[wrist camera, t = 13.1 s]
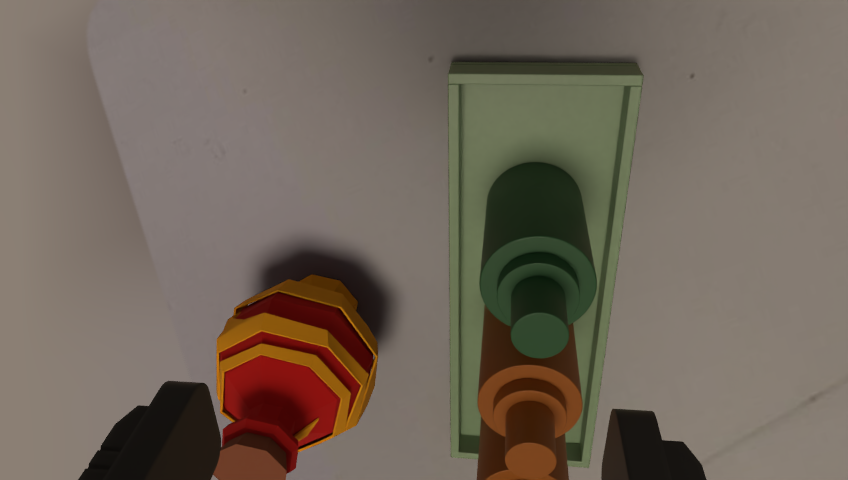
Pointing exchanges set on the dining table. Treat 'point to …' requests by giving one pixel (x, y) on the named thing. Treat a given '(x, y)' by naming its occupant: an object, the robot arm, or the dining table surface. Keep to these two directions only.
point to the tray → (548, 143)
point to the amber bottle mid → (527, 398)
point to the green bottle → (537, 257)
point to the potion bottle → (291, 375)
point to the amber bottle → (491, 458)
